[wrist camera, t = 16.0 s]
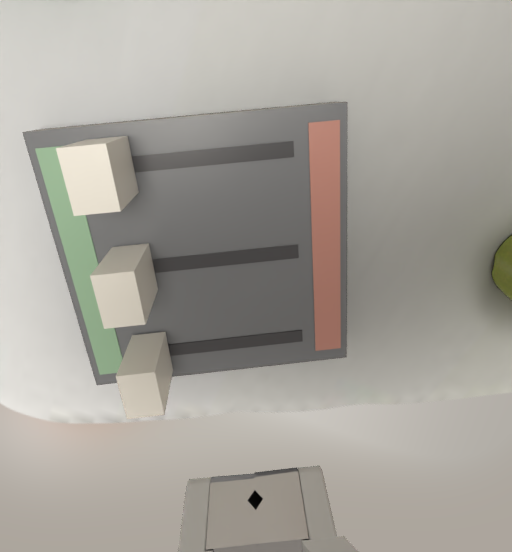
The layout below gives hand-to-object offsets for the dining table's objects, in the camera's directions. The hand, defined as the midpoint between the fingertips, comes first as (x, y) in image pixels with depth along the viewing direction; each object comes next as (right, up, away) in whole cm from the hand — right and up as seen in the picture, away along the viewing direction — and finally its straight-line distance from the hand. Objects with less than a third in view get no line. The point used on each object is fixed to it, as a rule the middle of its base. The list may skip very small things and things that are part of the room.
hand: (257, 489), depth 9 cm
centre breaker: (-8, +5, +19) cm, 22 cm away
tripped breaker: (-8, -1, +22) cm, 24 cm away
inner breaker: (-9, +12, +16) cm, 22 cm away
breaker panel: (-4, +7, +22) cm, 24 cm away
